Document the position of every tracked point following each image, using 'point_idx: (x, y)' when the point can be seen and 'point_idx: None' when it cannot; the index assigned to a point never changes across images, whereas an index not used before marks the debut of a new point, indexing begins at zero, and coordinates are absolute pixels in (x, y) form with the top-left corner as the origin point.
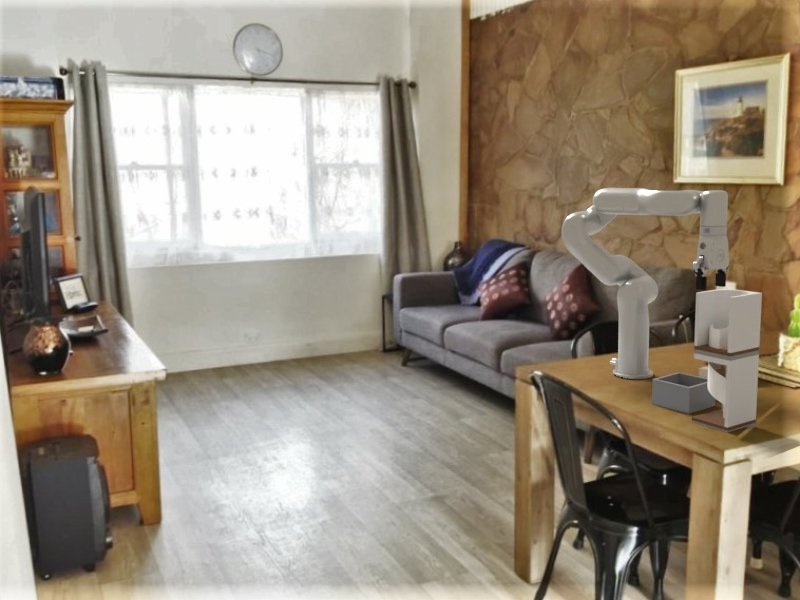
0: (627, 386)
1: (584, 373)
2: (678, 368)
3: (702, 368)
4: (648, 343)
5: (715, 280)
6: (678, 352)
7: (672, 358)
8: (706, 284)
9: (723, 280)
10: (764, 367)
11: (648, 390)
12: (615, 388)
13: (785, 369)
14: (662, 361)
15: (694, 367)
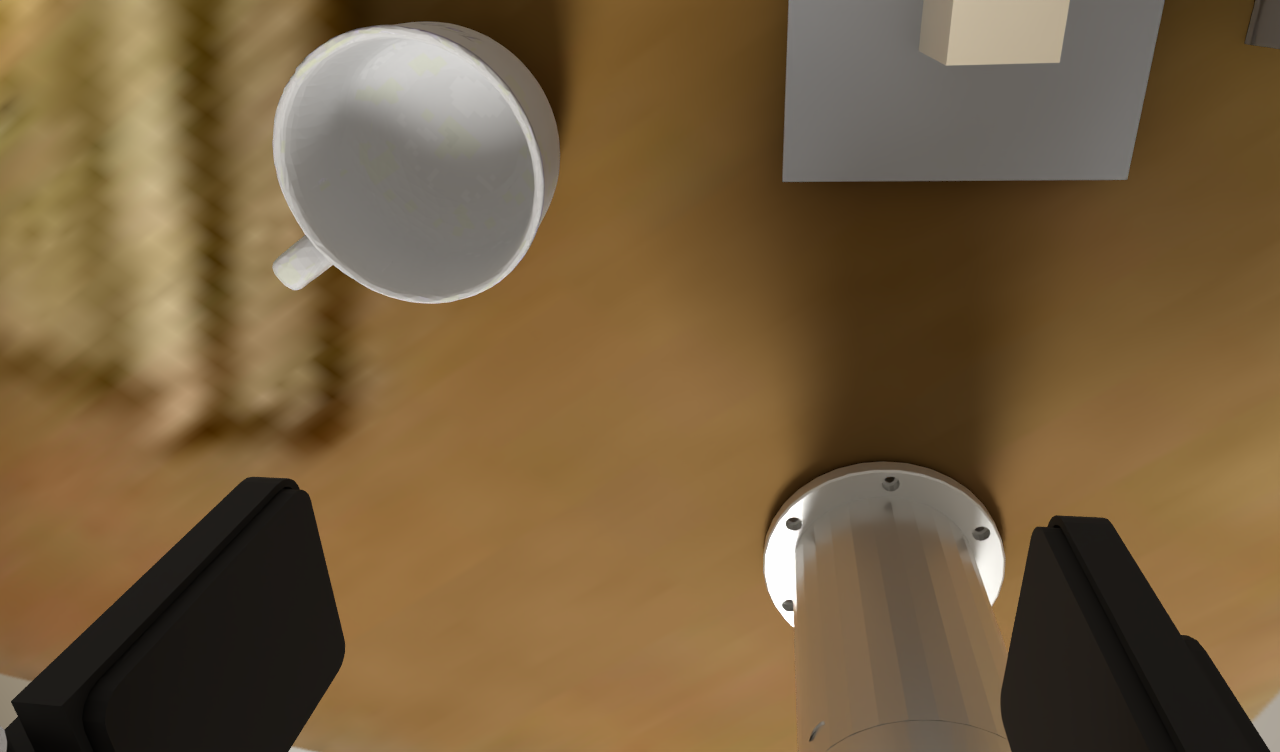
0: (1154, 438)
1: None
2: (549, 476)
3: (1046, 35)
4: (864, 633)
5: (291, 745)
6: None
7: (400, 605)
8: (1107, 600)
9: (224, 589)
10: (94, 169)
11: (1158, 304)
12: (1252, 456)
13: (9, 50)
14: (496, 605)
15: (455, 433)
